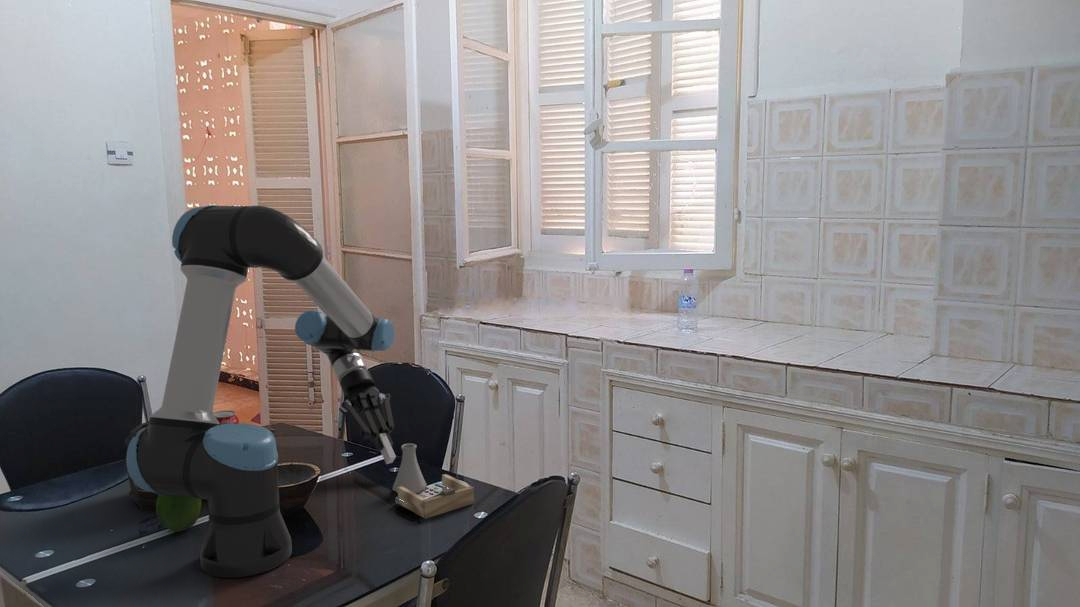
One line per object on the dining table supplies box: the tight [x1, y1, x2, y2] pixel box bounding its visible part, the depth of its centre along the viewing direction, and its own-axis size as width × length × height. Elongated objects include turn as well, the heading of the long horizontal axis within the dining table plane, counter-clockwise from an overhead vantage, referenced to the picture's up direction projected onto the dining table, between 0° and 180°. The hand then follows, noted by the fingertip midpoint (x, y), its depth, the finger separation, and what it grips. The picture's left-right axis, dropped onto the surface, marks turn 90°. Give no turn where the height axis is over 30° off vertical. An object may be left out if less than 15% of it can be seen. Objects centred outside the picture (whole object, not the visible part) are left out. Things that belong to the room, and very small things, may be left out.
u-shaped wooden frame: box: [397, 473, 475, 520], centre depth 158 cm, size 11×12×4 cm
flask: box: [392, 443, 428, 494], centre depth 166 cm, size 7×7×10 cm
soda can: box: [213, 410, 240, 425], centre depth 184 cm, size 7×7×12 cm
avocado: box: [155, 495, 202, 533], centre depth 145 cm, size 8×8×12 cm
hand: (391, 460), depth 172 cm, fingers closed
